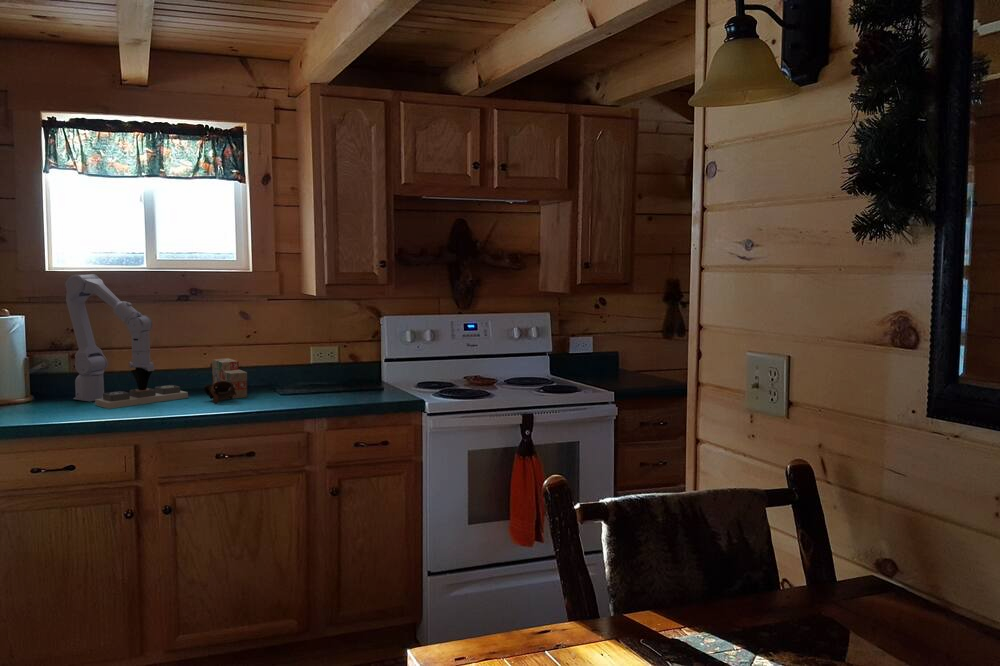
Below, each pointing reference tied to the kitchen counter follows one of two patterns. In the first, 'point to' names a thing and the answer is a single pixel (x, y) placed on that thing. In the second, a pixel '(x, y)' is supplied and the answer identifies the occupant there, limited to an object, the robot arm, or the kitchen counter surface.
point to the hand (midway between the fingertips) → (142, 389)
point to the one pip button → (167, 387)
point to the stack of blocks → (230, 375)
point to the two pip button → (115, 393)
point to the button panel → (140, 397)
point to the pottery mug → (220, 391)
